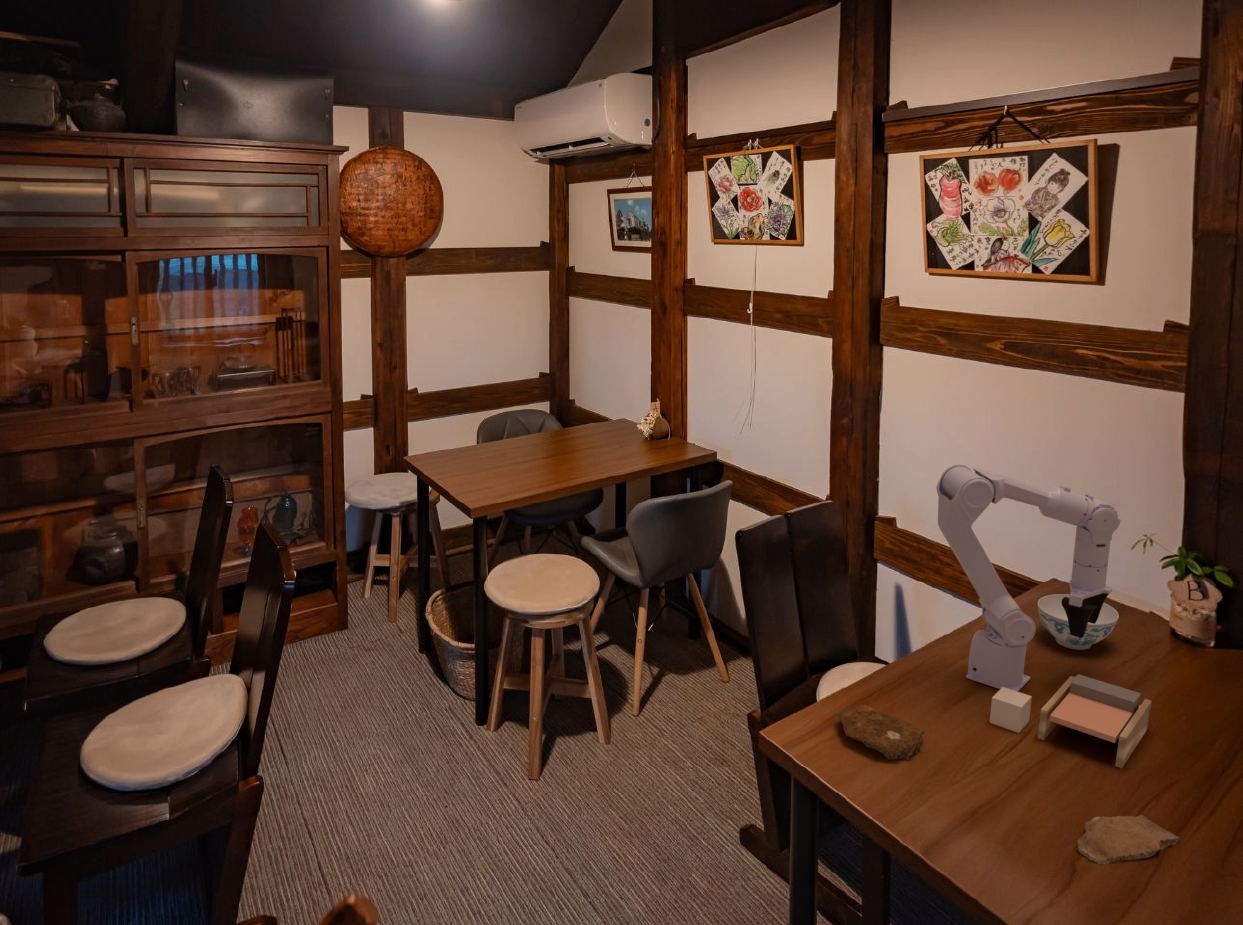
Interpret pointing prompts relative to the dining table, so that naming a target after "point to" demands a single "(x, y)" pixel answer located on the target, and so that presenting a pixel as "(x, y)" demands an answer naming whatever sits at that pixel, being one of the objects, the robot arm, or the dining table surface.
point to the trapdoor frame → (1126, 739)
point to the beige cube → (1010, 709)
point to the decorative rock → (881, 732)
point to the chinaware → (1059, 626)
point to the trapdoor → (1097, 708)
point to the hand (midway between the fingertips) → (1083, 628)
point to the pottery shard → (1122, 839)
